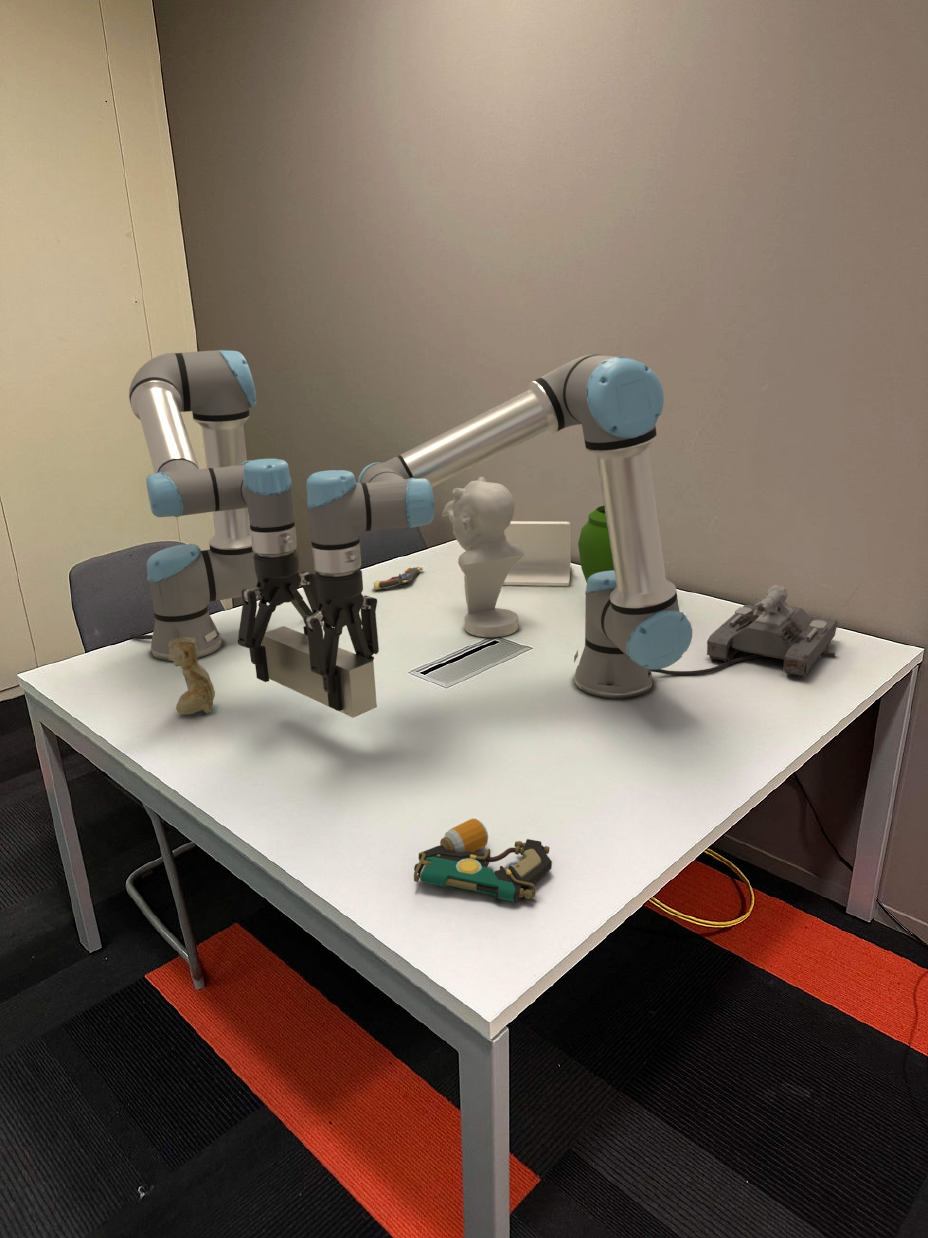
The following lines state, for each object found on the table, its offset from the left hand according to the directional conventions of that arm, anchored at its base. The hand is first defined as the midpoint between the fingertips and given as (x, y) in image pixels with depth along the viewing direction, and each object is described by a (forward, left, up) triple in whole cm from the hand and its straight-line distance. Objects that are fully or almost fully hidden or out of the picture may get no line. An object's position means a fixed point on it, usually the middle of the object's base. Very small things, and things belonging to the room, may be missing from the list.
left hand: (288, 669), depth 154 cm
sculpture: (-19, -9, -11) cm, 24 cm away
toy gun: (-48, +71, -11) cm, 87 cm away
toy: (+52, +88, -11) cm, 103 cm away
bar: (+9, 0, -2) cm, 9 cm away
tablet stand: (-24, +97, -11) cm, 100 cm away
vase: (+9, +92, -11) cm, 93 cm away
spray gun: (+56, -9, -11) cm, 57 cm away
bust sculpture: (-8, +60, -11) cm, 62 cm away
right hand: (+17, 0, -1) cm, 17 cm away
